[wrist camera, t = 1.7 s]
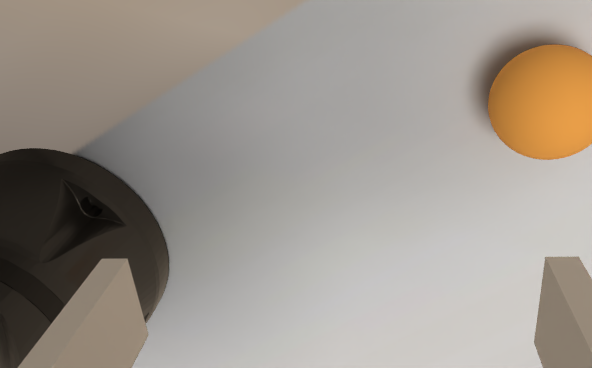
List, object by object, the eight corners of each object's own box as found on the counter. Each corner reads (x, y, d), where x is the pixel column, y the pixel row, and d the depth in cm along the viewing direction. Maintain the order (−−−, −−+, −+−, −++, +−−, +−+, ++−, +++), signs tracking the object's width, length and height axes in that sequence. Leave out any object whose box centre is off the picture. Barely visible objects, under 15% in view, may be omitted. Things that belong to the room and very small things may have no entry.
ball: (476, 136, 31) (495, 180, 26) (482, 37, 28) (504, 64, 23) (582, 132, 30) (622, 177, 25) (597, 30, 27) (645, 57, 22)
